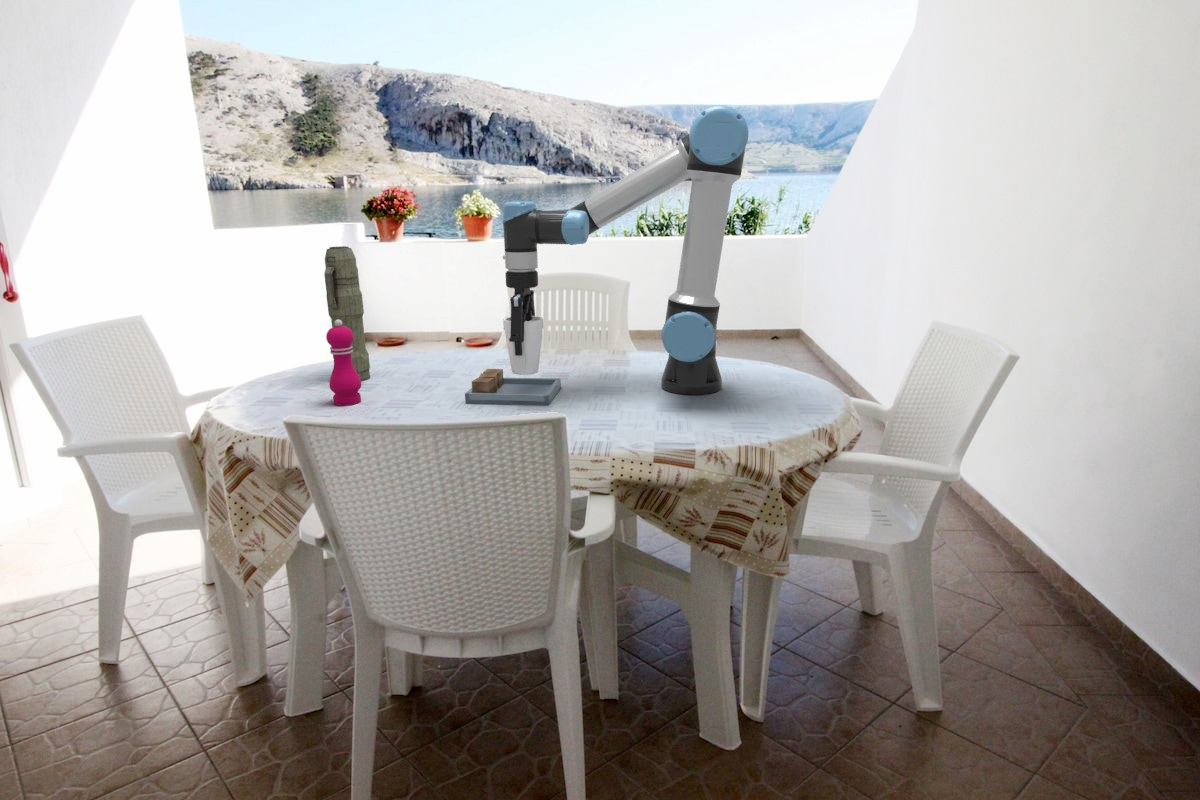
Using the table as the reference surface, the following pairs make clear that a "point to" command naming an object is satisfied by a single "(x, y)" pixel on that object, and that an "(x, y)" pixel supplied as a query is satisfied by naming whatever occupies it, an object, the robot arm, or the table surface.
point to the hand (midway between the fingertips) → (525, 363)
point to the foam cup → (526, 344)
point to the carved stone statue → (347, 302)
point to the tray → (519, 392)
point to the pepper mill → (343, 366)
